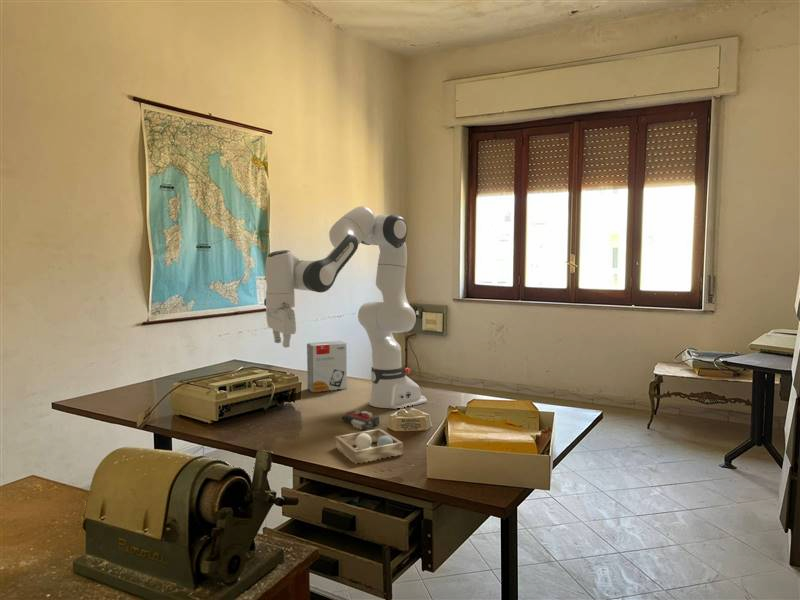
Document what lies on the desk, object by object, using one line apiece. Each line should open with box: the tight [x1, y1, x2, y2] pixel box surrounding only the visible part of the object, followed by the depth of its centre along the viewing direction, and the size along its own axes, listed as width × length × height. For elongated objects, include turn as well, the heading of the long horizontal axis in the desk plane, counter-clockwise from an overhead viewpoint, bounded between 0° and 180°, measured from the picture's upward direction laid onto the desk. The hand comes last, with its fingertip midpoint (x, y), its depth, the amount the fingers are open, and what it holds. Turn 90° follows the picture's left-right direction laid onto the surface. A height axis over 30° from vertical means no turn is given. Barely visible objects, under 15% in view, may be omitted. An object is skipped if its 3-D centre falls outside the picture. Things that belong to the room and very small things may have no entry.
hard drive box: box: [306, 340, 348, 393], centre depth 240 cm, size 16×8×20 cm, turn 115°
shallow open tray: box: [334, 428, 404, 465], centre depth 166 cm, size 15×15×4 cm
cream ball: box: [355, 433, 373, 450], centre depth 167 cm, size 5×5×5 cm
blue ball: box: [376, 436, 393, 447], centre depth 165 cm, size 5×5×5 cm
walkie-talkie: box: [341, 409, 380, 431], centre depth 191 cm, size 9×4×20 cm
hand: (281, 344), depth 180 cm, fingers open, 8 cm apart
